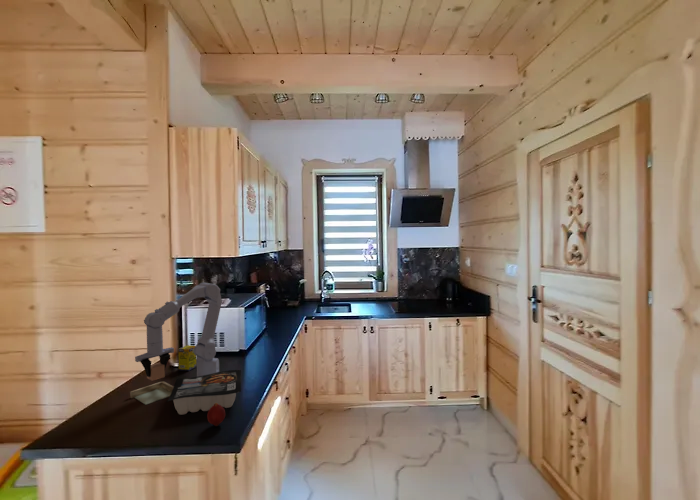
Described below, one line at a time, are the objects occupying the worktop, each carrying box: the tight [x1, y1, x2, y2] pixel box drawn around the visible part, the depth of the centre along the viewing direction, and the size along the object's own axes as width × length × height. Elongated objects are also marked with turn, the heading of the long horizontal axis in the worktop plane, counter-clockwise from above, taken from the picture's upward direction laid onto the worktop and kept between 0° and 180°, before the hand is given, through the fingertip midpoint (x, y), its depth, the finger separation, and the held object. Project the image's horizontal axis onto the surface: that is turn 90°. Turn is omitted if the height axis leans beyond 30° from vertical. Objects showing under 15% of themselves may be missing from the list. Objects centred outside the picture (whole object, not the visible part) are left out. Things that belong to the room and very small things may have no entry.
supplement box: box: [177, 344, 197, 372], centre depth 170 cm, size 6×6×11 cm
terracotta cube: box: [146, 362, 166, 382], centre depth 142 cm, size 5×5×5 cm
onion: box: [206, 403, 226, 427], centre depth 117 cm, size 6×6×8 cm
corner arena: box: [129, 380, 174, 406], centre depth 141 cm, size 13×13×2 cm
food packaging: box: [166, 369, 242, 416], centre depth 136 cm, size 25×8×23 cm
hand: (155, 374), depth 142 cm, fingers closed on terracotta cube, 5 cm apart
